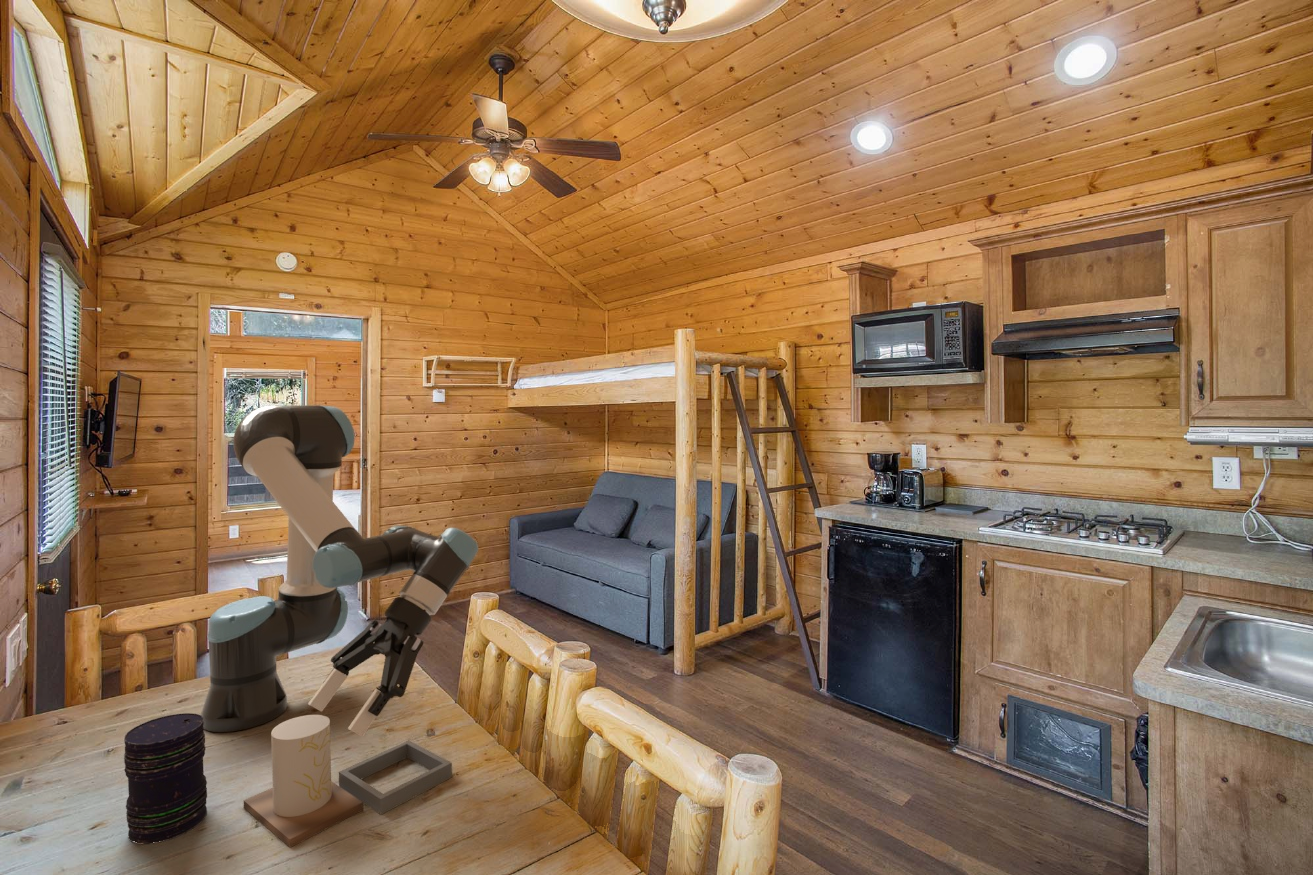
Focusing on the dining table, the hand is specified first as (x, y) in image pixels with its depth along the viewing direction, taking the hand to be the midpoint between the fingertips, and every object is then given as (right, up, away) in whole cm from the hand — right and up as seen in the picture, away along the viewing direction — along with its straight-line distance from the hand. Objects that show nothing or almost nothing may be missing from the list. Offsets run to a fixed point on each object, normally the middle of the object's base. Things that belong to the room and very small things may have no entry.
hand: (333, 720), depth 106 cm
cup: (-3, -12, -3) cm, 13 cm away
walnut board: (-3, -13, -3) cm, 14 cm away
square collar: (+8, -12, +5) cm, 16 cm away
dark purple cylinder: (-22, -13, -6) cm, 27 cm away
